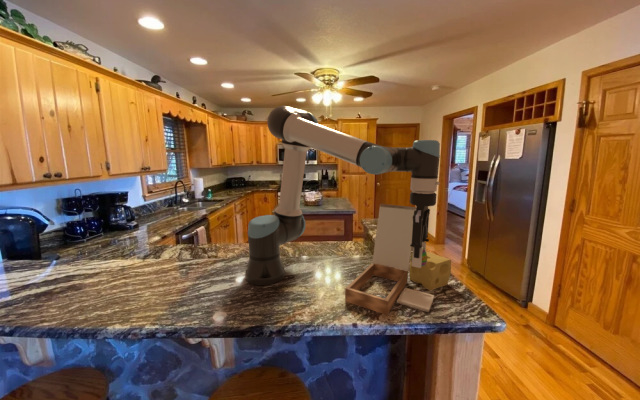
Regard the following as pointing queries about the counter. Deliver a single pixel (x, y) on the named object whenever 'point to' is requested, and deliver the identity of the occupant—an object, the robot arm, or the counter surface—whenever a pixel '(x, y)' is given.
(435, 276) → the cheese
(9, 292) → the counter surface
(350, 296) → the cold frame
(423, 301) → the dish
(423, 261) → the egg
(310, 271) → the counter surface
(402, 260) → the lid
